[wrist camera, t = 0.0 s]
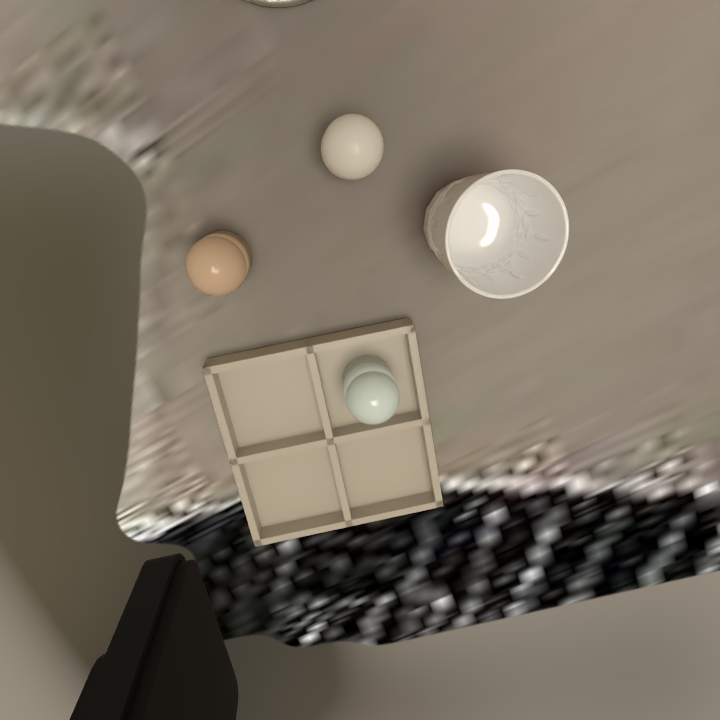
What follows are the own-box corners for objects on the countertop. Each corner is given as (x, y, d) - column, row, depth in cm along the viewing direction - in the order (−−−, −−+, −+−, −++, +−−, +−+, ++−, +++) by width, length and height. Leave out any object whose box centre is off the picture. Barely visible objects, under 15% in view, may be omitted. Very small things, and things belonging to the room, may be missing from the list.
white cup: (401, 254, 45) (426, 276, 35) (437, 155, 43) (474, 149, 33) (490, 285, 46) (537, 314, 37) (529, 190, 44) (590, 195, 35)
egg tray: (207, 358, 46) (202, 368, 44) (408, 317, 46) (414, 324, 44) (257, 530, 51) (255, 546, 49) (437, 491, 52) (443, 506, 50)
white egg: (315, 125, 41) (316, 117, 36) (371, 114, 41) (381, 104, 36) (326, 184, 43) (330, 185, 37) (381, 173, 43) (392, 173, 37)
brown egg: (189, 236, 43) (171, 246, 37) (244, 225, 43) (234, 233, 37) (204, 290, 44) (189, 307, 39) (257, 279, 44) (250, 295, 39)
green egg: (337, 360, 46) (342, 387, 41) (387, 350, 47) (399, 375, 41) (347, 407, 48) (353, 438, 42) (395, 396, 48) (408, 427, 42)
